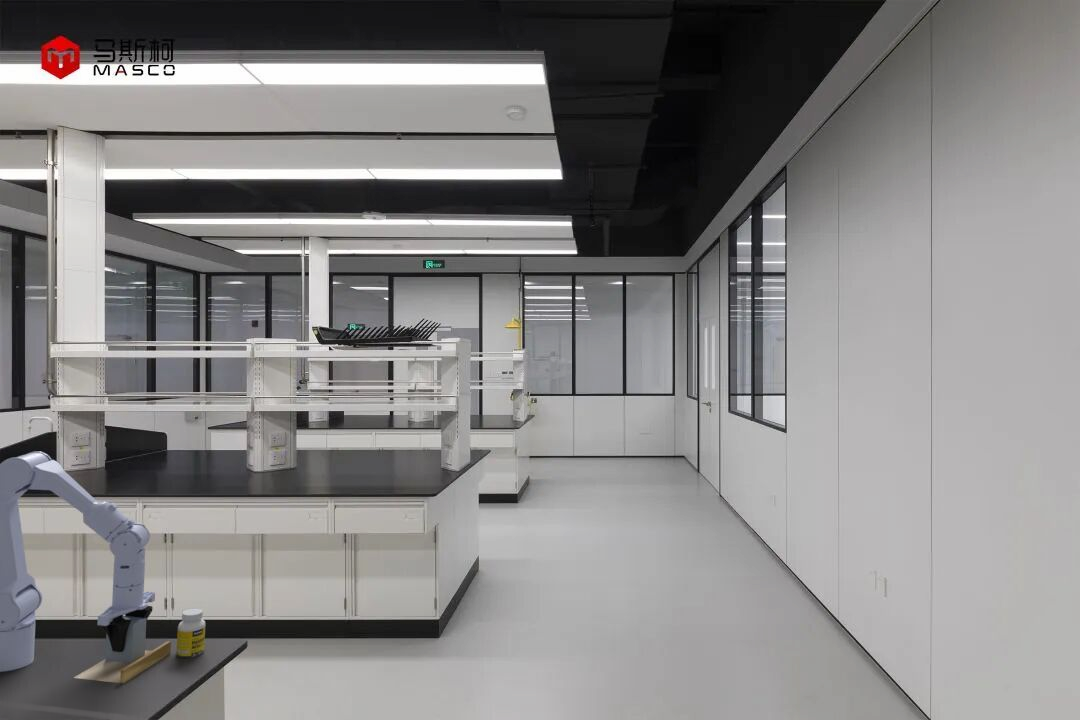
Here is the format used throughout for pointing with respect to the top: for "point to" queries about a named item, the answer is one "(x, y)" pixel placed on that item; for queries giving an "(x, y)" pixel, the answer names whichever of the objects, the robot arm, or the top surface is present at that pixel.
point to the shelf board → (125, 666)
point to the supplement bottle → (191, 634)
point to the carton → (130, 642)
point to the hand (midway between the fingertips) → (126, 646)
